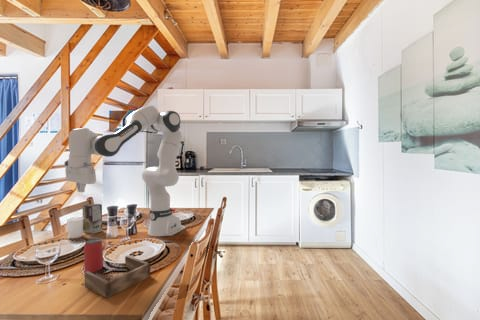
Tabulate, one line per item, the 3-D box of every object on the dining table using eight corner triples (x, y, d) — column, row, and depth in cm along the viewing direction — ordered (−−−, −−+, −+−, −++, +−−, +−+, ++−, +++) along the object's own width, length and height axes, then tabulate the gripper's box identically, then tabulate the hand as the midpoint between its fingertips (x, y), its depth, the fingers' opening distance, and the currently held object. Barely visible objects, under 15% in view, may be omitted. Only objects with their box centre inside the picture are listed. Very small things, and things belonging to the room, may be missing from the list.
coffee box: (102, 230, 154) (102, 204, 153) (92, 234, 148) (92, 206, 147) (92, 228, 158) (92, 202, 157) (82, 231, 152) (81, 204, 151)
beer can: (94, 274, 101) (94, 244, 101) (80, 272, 103) (79, 242, 102) (106, 266, 108) (106, 238, 107) (93, 265, 109) (92, 237, 108)
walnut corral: (127, 267, 107) (127, 255, 107) (150, 276, 100) (150, 263, 100) (84, 285, 93) (84, 272, 92) (107, 298, 85) (107, 283, 85)
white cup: (73, 234, 148) (73, 216, 148) (86, 234, 148) (86, 217, 147) (63, 238, 140) (63, 220, 140) (77, 239, 140) (77, 221, 139)
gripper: (99, 163, 117) (100, 193, 117) (76, 161, 127) (77, 189, 128) (85, 163, 111) (85, 195, 112) (62, 162, 122) (63, 191, 123)
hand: (81, 192), depth 120 cm, fingers closed
